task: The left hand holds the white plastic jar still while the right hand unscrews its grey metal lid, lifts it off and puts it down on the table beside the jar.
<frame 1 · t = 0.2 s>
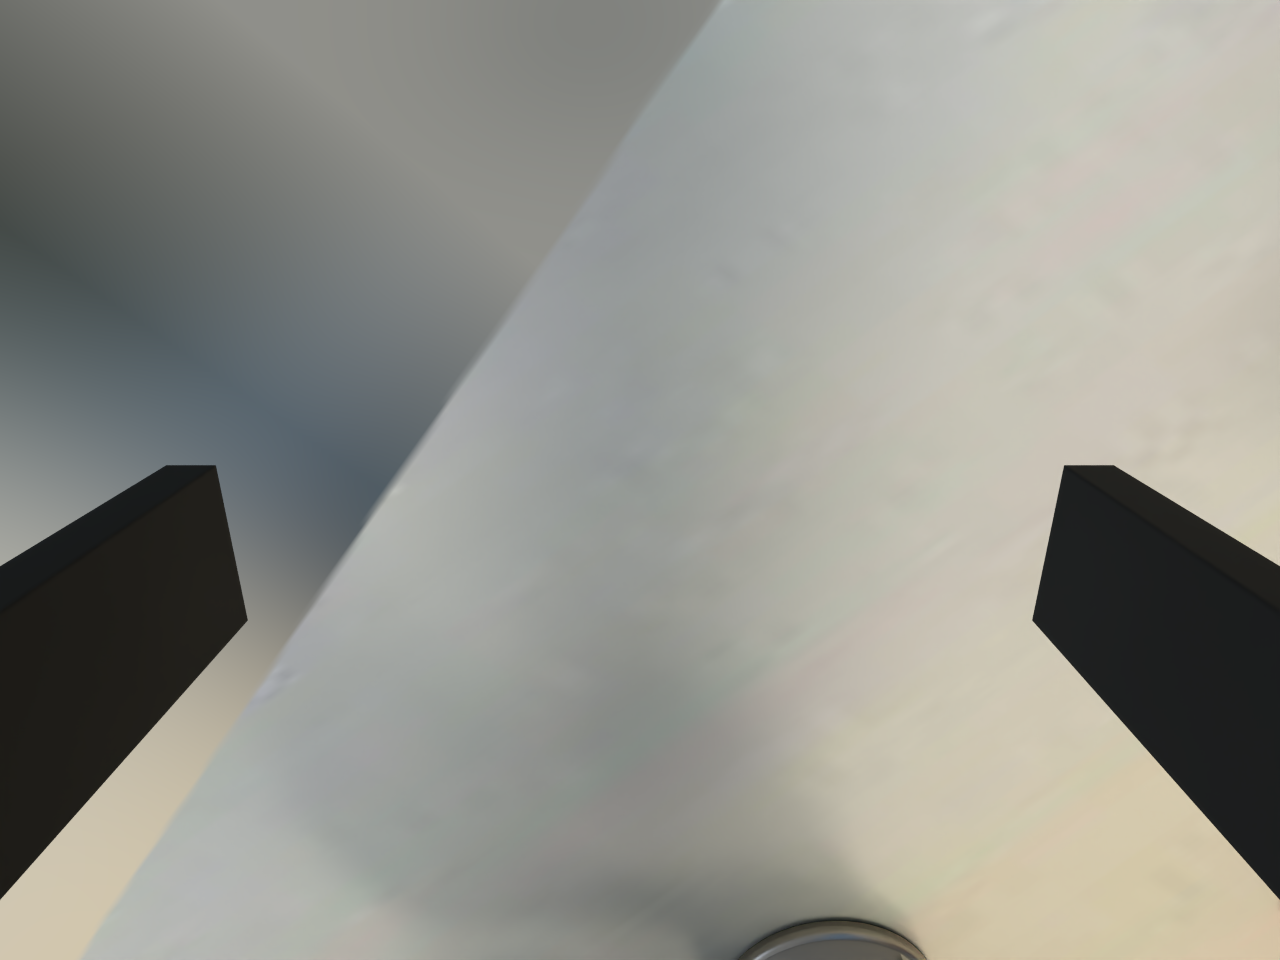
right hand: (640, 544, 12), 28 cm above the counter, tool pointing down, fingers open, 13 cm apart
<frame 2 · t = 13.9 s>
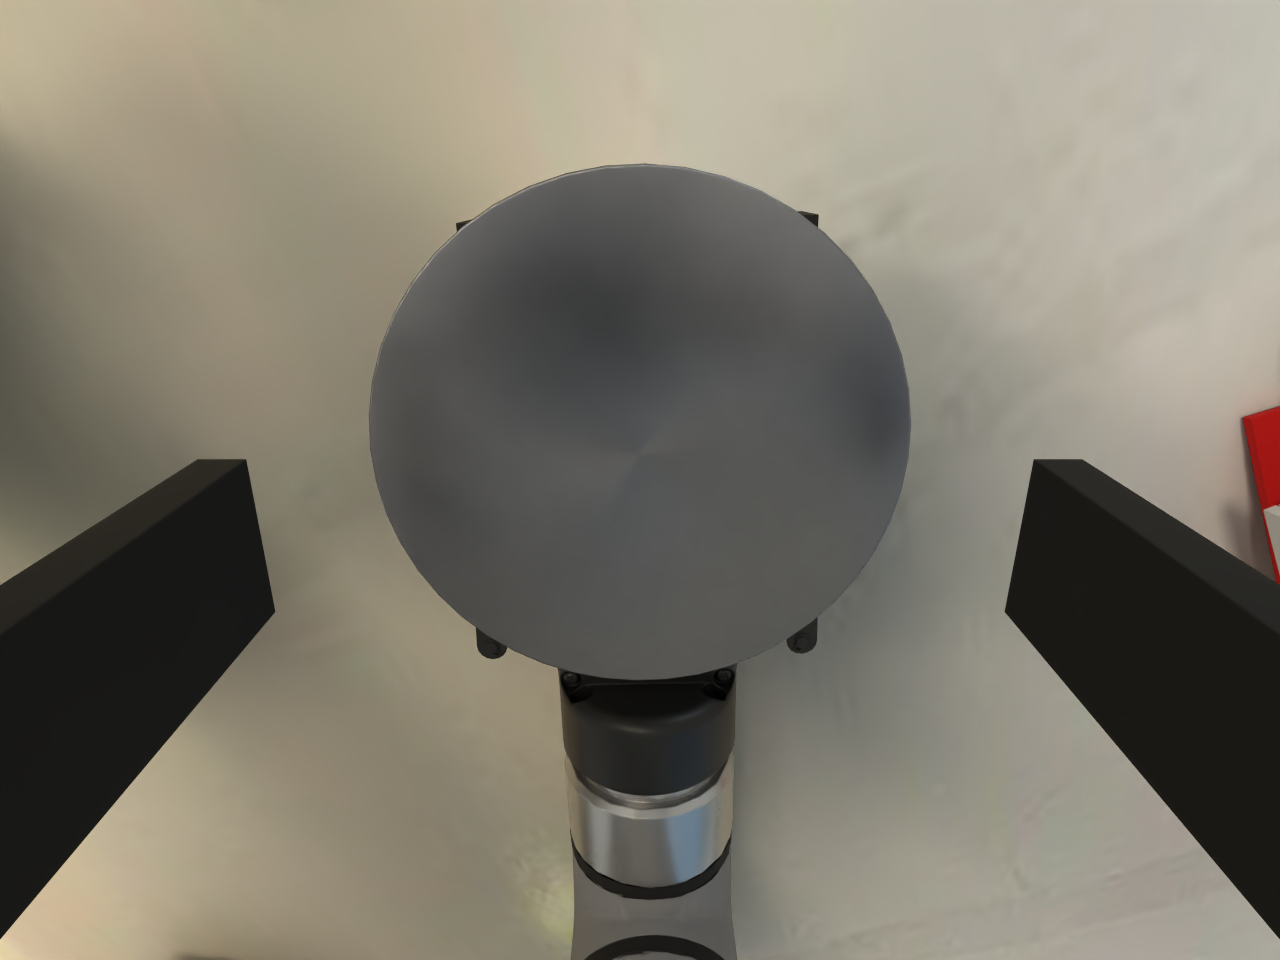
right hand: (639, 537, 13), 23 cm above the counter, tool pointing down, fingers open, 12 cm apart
lid: (639, 448, 17), point 19 cm above the counter, screwed on, not yet turned
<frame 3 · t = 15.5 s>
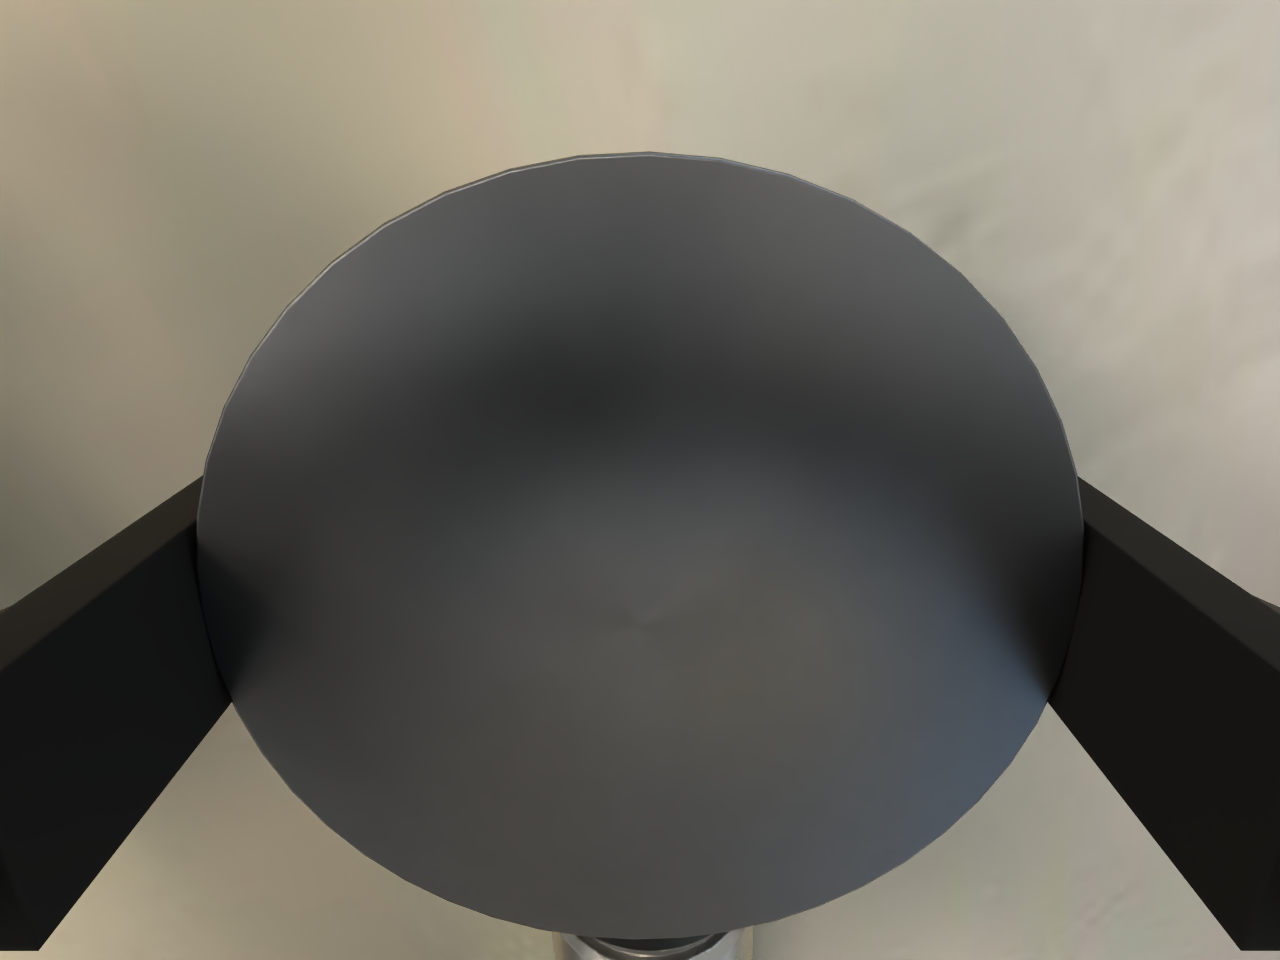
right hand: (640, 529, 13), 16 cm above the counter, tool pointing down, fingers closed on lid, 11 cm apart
lid: (640, 611, 11), point 19 cm above the counter, screwed on, not yet turned, touching right hand
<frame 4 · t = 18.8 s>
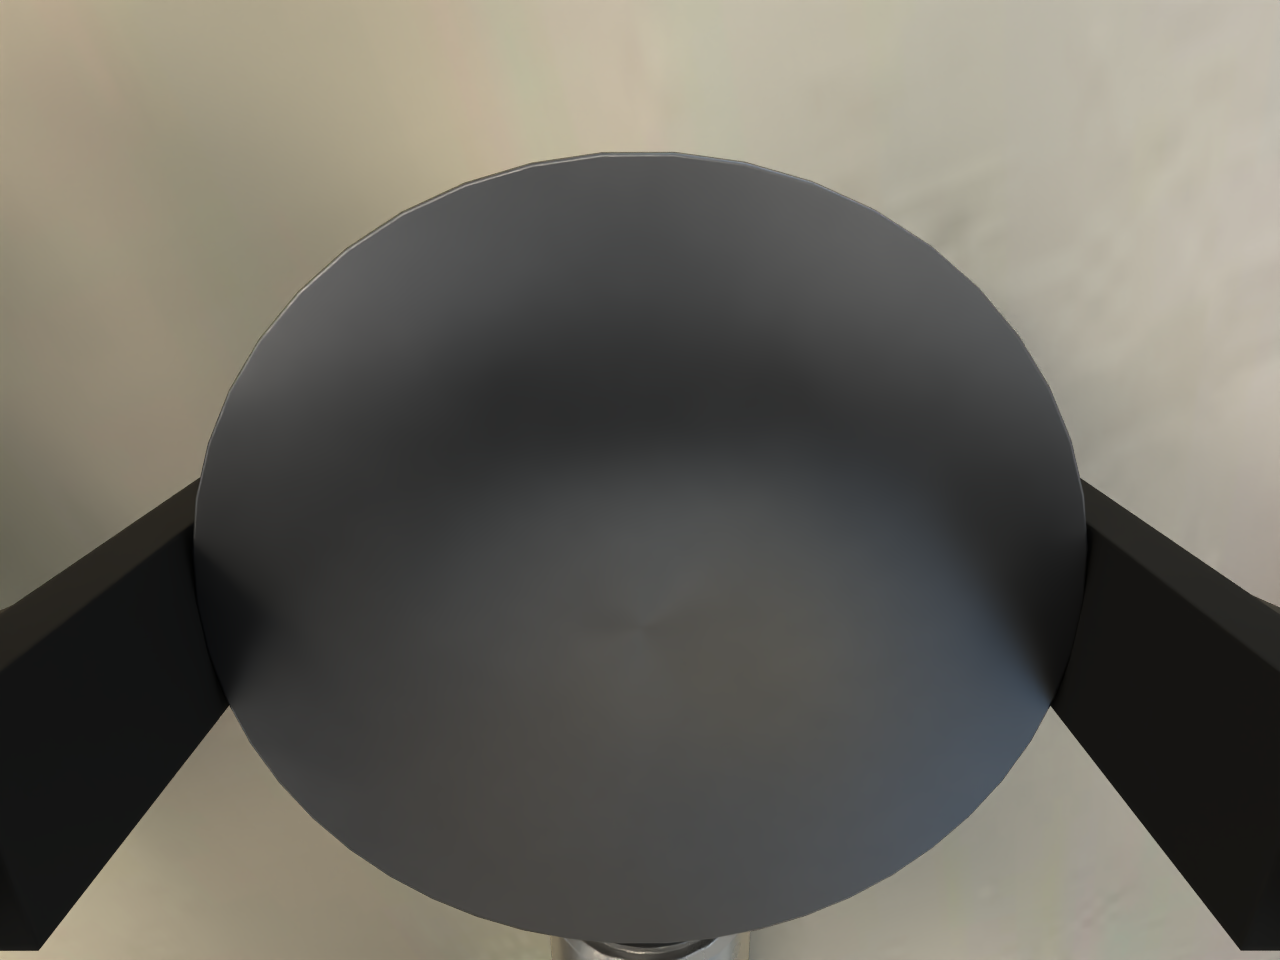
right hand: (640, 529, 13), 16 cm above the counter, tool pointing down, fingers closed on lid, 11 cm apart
lid: (640, 613, 10), point 19 cm above the counter, turned 118° so far, risen 0.2 cm, still on its thread, touching right hand
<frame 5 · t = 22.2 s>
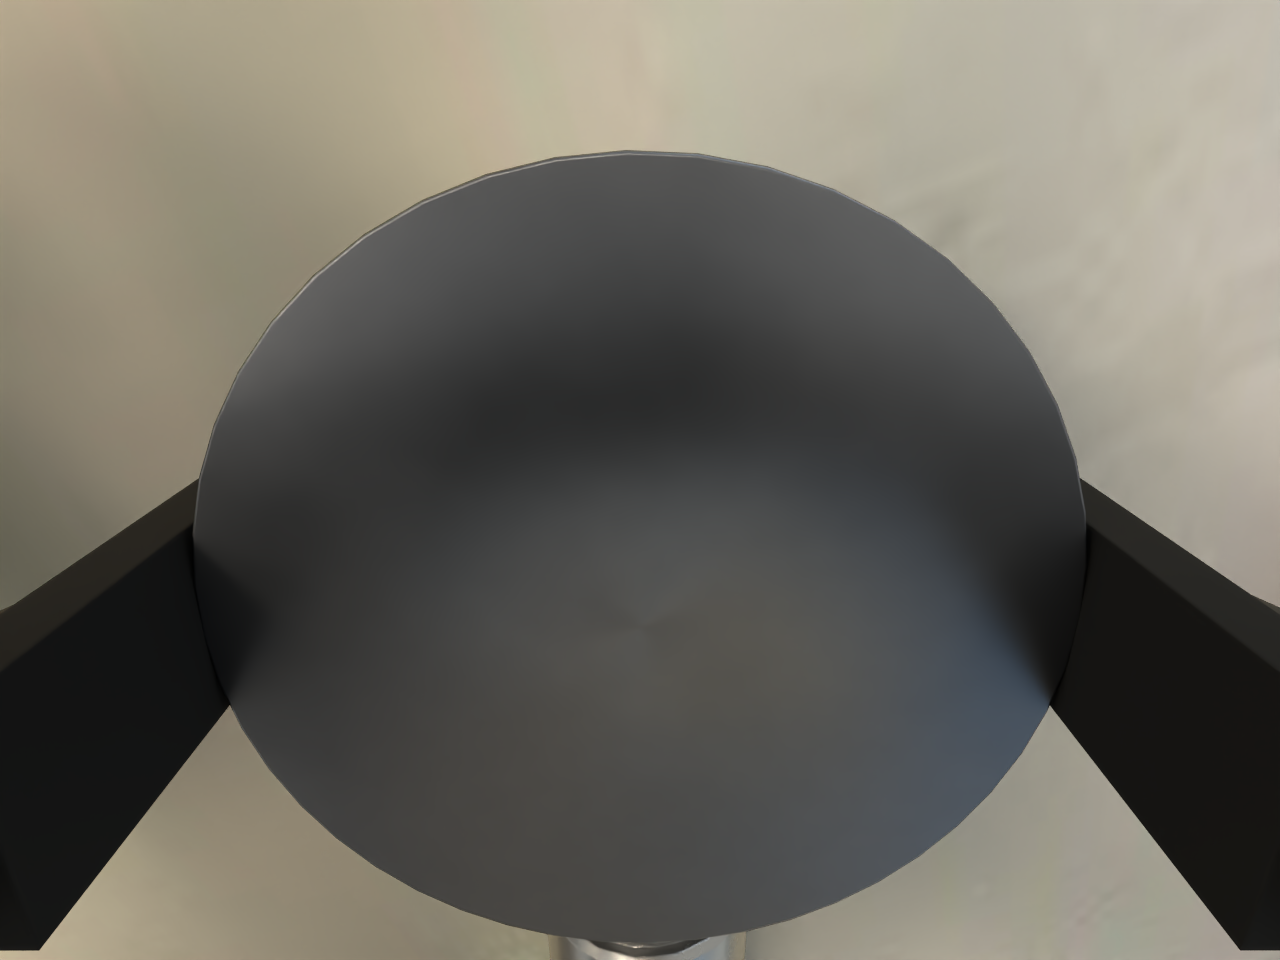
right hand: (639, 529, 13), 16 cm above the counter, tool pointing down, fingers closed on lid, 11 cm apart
lid: (639, 612, 10), point 19 cm above the counter, turned 236° so far, risen 0.4 cm, still on its thread, touching right hand
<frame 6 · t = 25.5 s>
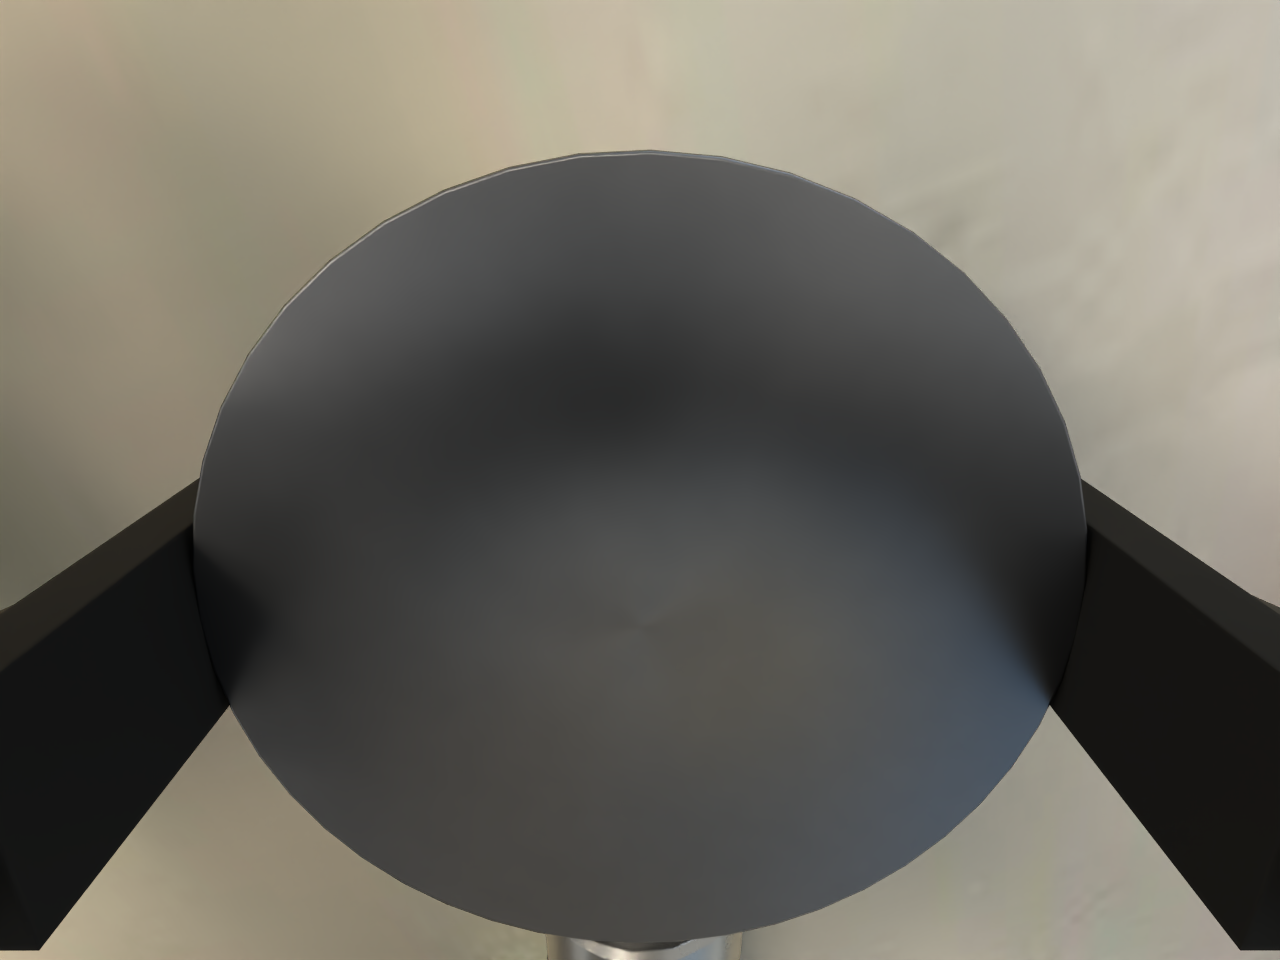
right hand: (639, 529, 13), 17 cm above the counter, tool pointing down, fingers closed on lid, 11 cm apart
lid: (639, 612, 10), point 19 cm above the counter, turned 353° so far, risen 0.6 cm, still on its thread, touching right hand
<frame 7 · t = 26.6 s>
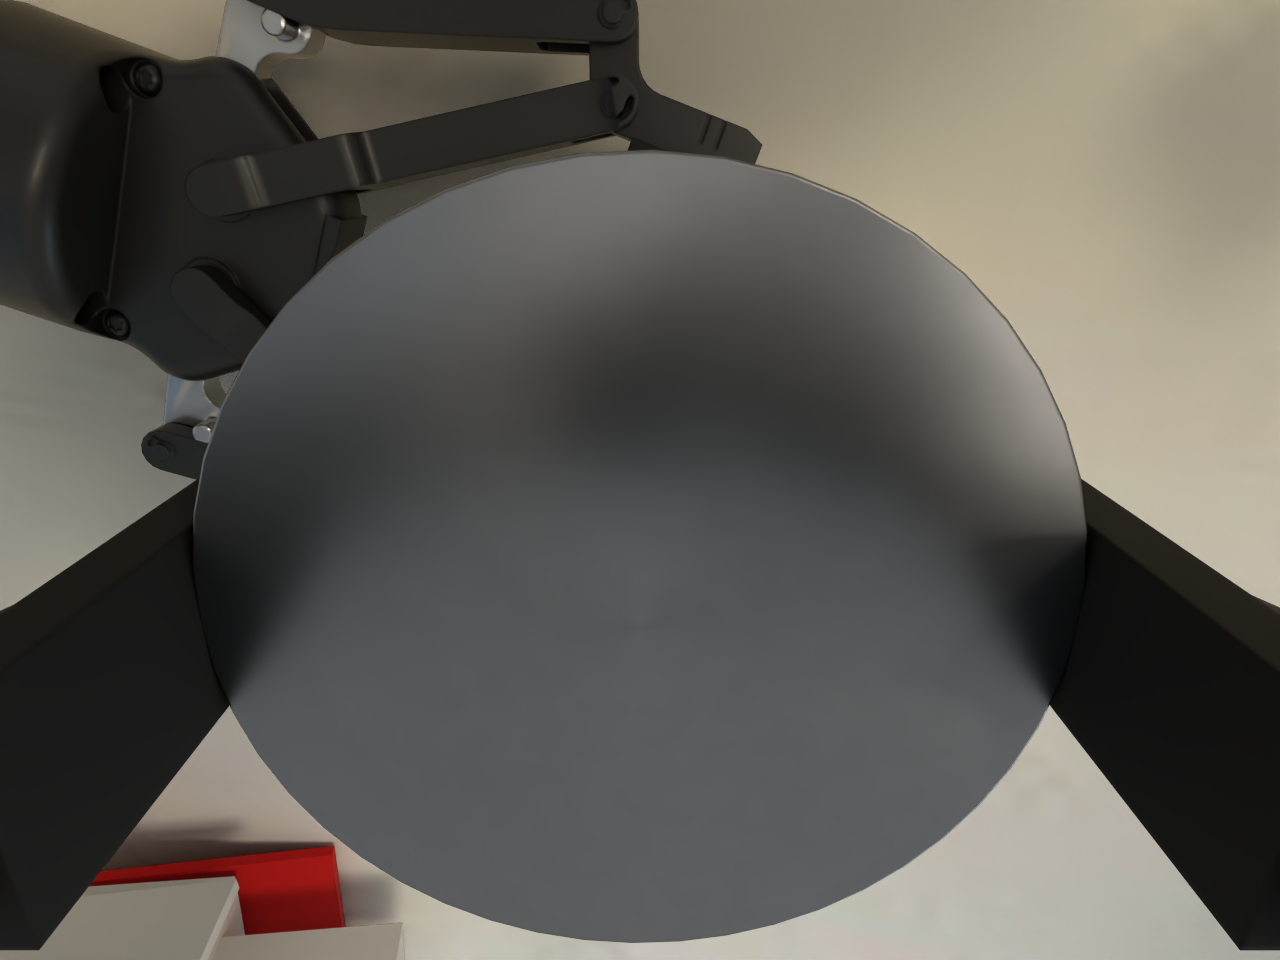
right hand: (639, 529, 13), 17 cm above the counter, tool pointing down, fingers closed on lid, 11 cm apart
toy: (117, 900, 38), on the counter
lid: (639, 612, 10), point 19 cm above the counter, off its thread, touching right hand
when the right hand's fingers open (0 cm above the counter, at t = 33.9 s): lid drops 2 cm, point 2 cm above the counter.
when the left hand's fingers open (6 cm above the counter, at t = 34.9 s): jar stays where it is, on the counter.
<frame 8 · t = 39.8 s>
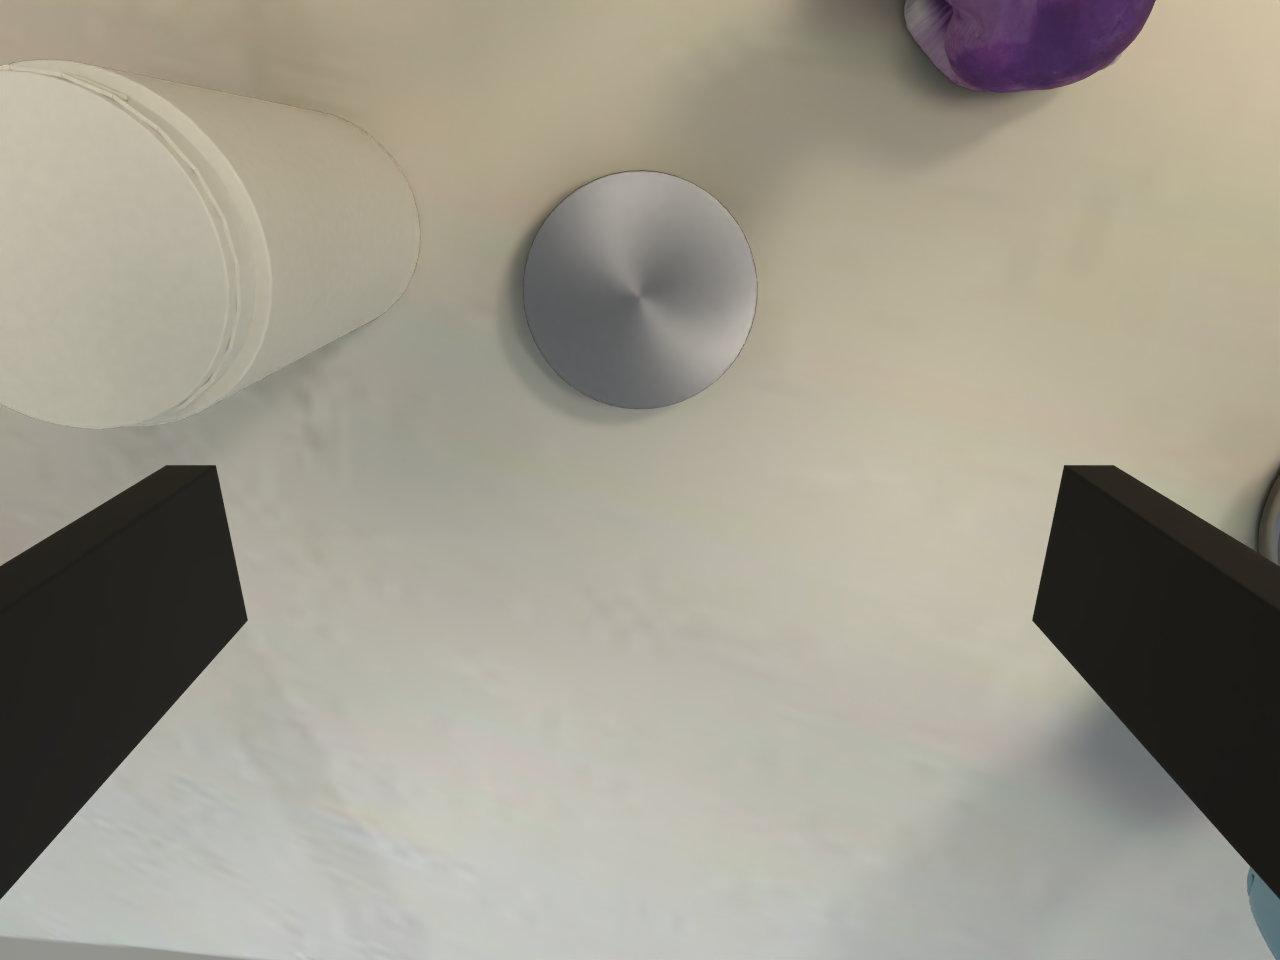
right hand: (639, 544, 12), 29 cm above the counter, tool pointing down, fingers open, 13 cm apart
jar: (315, 225, 39), on the counter
lid: (640, 295, 38), point 2 cm above the counter, off its thread
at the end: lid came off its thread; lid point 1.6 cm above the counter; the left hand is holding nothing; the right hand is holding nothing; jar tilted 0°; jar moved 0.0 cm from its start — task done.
